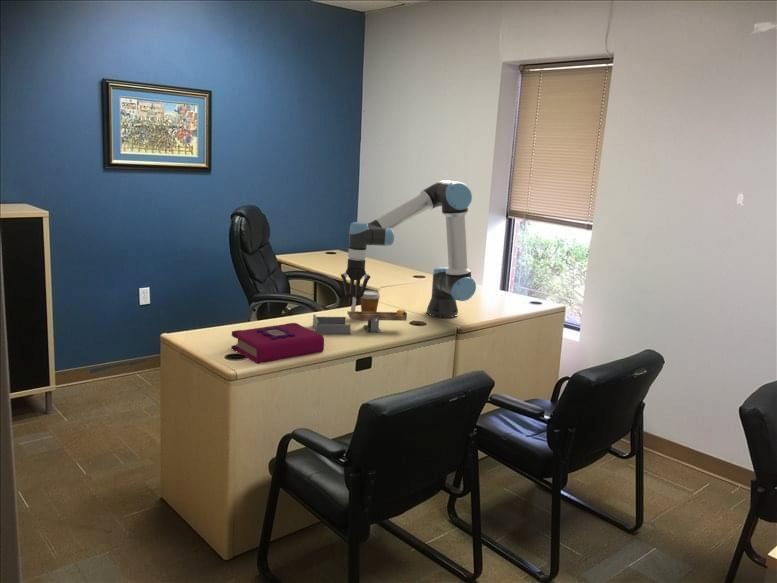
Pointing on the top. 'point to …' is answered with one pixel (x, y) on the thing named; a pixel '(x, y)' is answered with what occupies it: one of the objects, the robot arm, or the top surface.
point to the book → (277, 342)
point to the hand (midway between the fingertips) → (353, 312)
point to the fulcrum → (373, 325)
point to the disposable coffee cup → (369, 301)
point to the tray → (330, 325)
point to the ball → (400, 312)
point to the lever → (377, 315)
